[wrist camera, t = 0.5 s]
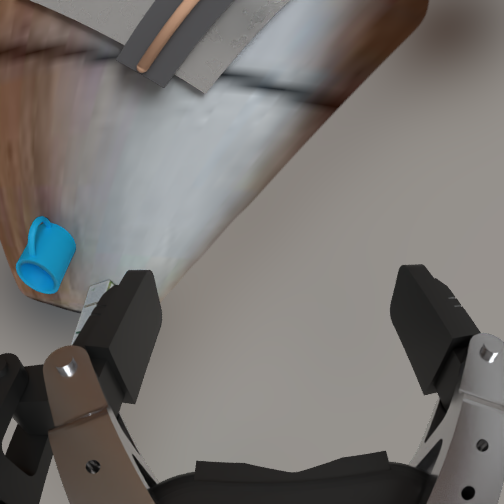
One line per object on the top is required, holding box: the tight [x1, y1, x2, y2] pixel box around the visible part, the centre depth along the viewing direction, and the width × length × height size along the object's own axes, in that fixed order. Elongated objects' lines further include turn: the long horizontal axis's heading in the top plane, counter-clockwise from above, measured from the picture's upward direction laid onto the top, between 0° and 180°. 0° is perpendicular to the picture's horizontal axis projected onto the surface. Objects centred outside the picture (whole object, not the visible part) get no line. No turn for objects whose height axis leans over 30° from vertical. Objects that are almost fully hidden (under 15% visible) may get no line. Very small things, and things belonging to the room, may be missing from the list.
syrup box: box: [71, 280, 114, 345], centre depth 51 cm, size 6×6×14 cm
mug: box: [16, 216, 76, 294], centre depth 43 cm, size 12×8×8 cm
